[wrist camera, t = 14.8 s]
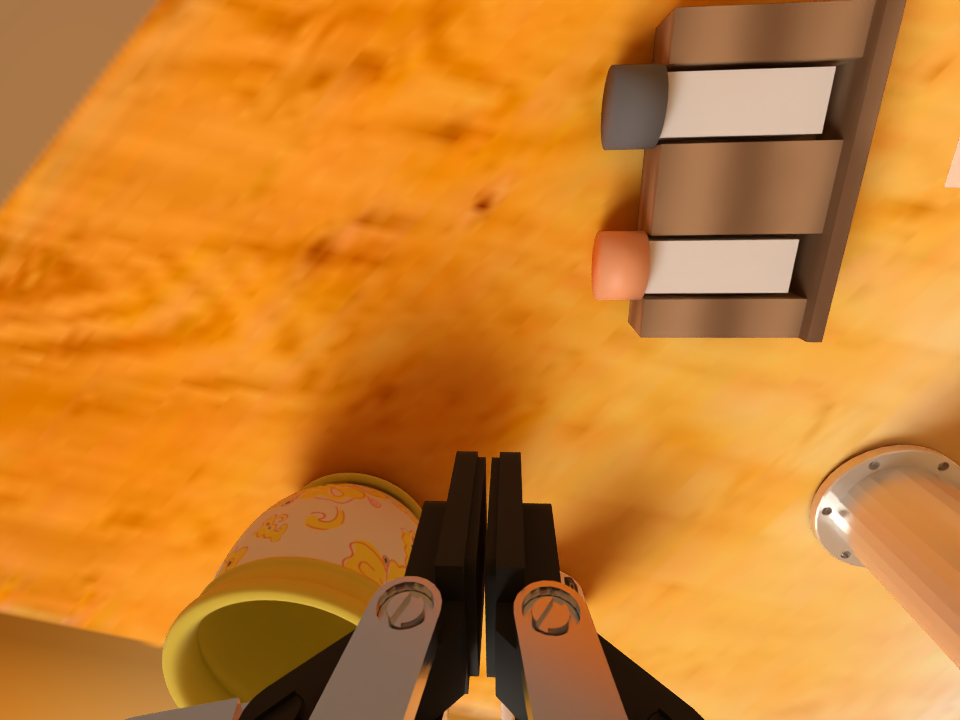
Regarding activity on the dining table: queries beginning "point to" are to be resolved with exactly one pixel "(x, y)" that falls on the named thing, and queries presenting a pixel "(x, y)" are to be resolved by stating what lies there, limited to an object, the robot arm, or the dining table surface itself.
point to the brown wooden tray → (767, 161)
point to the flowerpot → (290, 587)
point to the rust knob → (689, 264)
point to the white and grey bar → (711, 104)
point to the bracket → (954, 170)
